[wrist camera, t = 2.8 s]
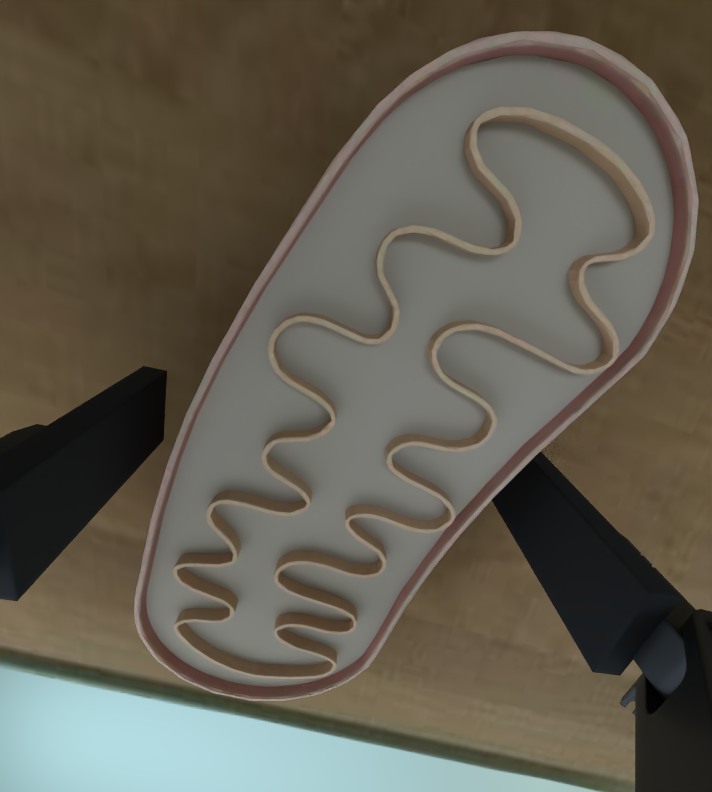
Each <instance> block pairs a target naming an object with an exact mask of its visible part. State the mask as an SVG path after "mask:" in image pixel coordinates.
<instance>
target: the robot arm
mask: <svg viewBox="0 0 712 792" xmlns="http://www.w3.org/2000/svg"><path fill="white" fill-rule="evenodd" d="M166 379H167V371H165V370H160V369H155V368H150V367H145V366H143V367H142V368H140V369H138V370H137V371H135V372H133V373H132V374H130V375H129V376H127V377H125V378H124V379H122V380H121V381H119V382H117V383H116V384H114V385H112V386H111V387H109V388H108V389H106V390H104V391H103V392H101V393H100V394H98V395H96V396H95V397H93V398H91V399H90V400H88V401H87V402H85V403H83V404H82V405H80V406H79V407H77V408H75V409H74V410H72V411H70V412H69V413H67V414H66V415H64V416H62V417H61V418H59V419H57V420H56V421H54V422H53V423H51V424H49V425H48V426H44V425H39V424H36V425H32V426H29V427H26V428H23V429H20V430H16V431H13V432H11V433H9V434H7V435H5V436H4V437H2V438H0V599H5V600H13V601H18V600H19V598H20V597H21V596H22V595H23V594H24V593H25V592H26V591H27V590H28V589H29V587H30V586H31V585H32V584H33V583H34V582H35V581H36V580H37V579H38V578H39V576H40V575H41V574H42V573H43V572H44V571H45V570H46V569H47V568H48V567H49V565H50V564H51V563H52V562H53V561H54V560H55V559H56V558H57V557H58V555H59V554H60V553H61V552H62V551H63V550H64V549H65V548H66V547H67V546H68V544H69V543H70V542H71V541H72V540H73V539H74V538H75V537H76V536H77V535H78V533H79V532H80V531H81V530H82V529H83V528H84V527H85V526H86V525H87V524H88V522H89V521H90V520H91V519H92V518H93V517H94V516H95V515H96V514H97V513H98V511H99V510H100V509H101V508H102V507H103V506H104V505H105V504H106V503H107V502H108V500H109V499H110V498H111V497H112V496H113V495H114V494H115V493H116V492H117V491H118V489H119V488H120V487H121V486H122V485H123V484H124V483H125V482H126V481H127V479H128V478H129V477H130V476H131V475H132V474H133V473H134V472H135V471H136V470H137V468H138V467H139V466H140V465H141V464H142V463H143V462H144V461H145V460H146V459H147V457H148V456H149V455H150V454H151V453H152V452H153V451H154V450H155V449H156V448H157V446H158V445H159V444H160V443H161V442H162V441H163V439H164V419H165V399H166ZM492 501H493V503H494V505H495V506H496V508H497V510H498V512H499V513H500V515H501V517H502V518H503V520H504V522H505V523H506V525H507V527H508V529H509V530H510V532H511V534H512V535H513V537H514V539H515V541H516V542H517V544H518V546H519V547H520V549H521V551H522V552H523V554H524V556H525V558H526V559H527V561H528V563H529V564H530V566H531V568H532V569H533V571H534V573H535V575H536V576H537V578H538V580H539V581H540V583H541V585H542V586H543V588H544V590H545V592H546V593H547V595H548V597H549V598H550V600H551V602H552V603H553V605H554V607H555V609H556V610H557V612H558V614H559V615H560V617H561V619H562V621H563V622H564V624H565V626H566V627H567V629H568V631H569V632H570V634H571V636H572V638H573V639H574V641H575V643H576V644H577V646H578V648H579V649H580V651H581V653H582V655H583V656H584V658H585V660H586V661H587V663H588V665H589V666H590V668H591V670H592V672H596V673H604V674H612V675H621V674H622V672H623V671H624V670H625V669H626V667H627V666H628V665H629V664H630V662H631V661H632V660H633V659H634V661H635V662H636V663H637V665H638V666H639V668H640V669H641V671H642V672H643V673H642V675H641V676H640V677H639V678H638V679H637V681H636V682H635V683H634V684H633V685H632V687H631V688H630V689H629V690H628V691H627V693H626V694H625V695H624V696H623V697H622V700H621V702H620V704H621V705H622V706H623V707H626V706H627V705H628V703H629V702H631V701H635V702H636V709H635V710H634V711H633V712H632V713H633V714H634V715H636V721H635V792H712V612H710V611H706V610H702V609H699V610H695V608H694V607H693V606H692V605H691V604H690V603H689V602H688V601H687V600H686V599H685V598H684V597H683V596H682V595H681V594H680V593H679V592H678V591H677V590H676V589H675V588H674V587H673V586H672V585H671V584H670V583H669V582H668V581H667V580H666V579H665V578H664V577H663V575H662V574H661V573H660V572H659V571H658V570H657V569H656V568H654V567H652V564H651V563H650V562H649V561H648V560H647V559H646V558H645V557H644V556H642V555H641V553H640V552H639V551H638V550H637V549H636V548H635V547H634V546H633V545H632V543H631V542H630V541H629V540H628V539H627V538H625V537H624V536H623V535H621V534H620V533H619V532H618V531H617V530H616V529H615V528H614V527H613V526H612V525H611V524H610V523H609V522H608V521H607V520H606V519H605V518H604V517H603V516H602V515H601V514H600V513H599V512H598V511H597V510H596V509H595V508H594V506H593V505H592V504H591V503H590V502H589V501H588V500H587V499H586V498H585V497H584V496H583V495H582V494H581V493H580V492H579V491H578V490H577V489H576V488H575V487H574V486H573V485H572V484H571V483H570V482H569V480H568V479H567V478H566V477H565V476H564V475H563V474H562V473H561V472H560V471H559V470H558V469H557V468H556V467H555V466H554V465H553V464H552V463H551V462H550V461H549V460H548V459H547V458H546V457H545V455H544V454H543V453H542V452H541V451H540V452H539V453H538V454H537V455H536V456H535V457H534V458H533V459H532V460H531V461H530V462H529V463H528V464H527V465H526V466H525V467H524V468H523V469H522V470H521V471H520V472H519V473H518V474H517V475H516V476H515V477H514V478H513V479H512V480H511V481H510V482H509V483H508V484H507V485H506V486H505V487H504V488H503V489H502V490H501V491H500V492H499V493H498V494H497V495H496V496H495V497H494V498H493V499H492Z"/></svg>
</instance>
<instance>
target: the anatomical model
mask: <svg viewBox="0 0 712 792" xmlns="http://www.w3.org/2000/svg"><path fill="white" fill-rule="evenodd" d="M698 204H699V199H698V192H697V185H696V179H695V173H694V168H693V162H692V157H691V151H690V147H689V143H688V139H687V136H686V134H685V132H684V130H683V127H682V125H681V123H680V121H679V119H678V117H677V116H676V114H675V113H674V111H673V110H672V108H671V107H670V105H669V104H668V102H667V101H666V99H665V98H664V96H663V95H662V93H661V92H660V91H659V89H658V88H657V86H656V85H655V83H654V82H653V81H652V79H650V78H649V77H648V76H647V75H646V74H644V73H643V72H642V71H641V70H639V69H638V68H637V67H636V66H634V65H633V64H632V63H631V62H630V61H628V60H627V59H626V58H625V57H623V56H622V55H620V54H618V53H616V52H614V51H612V50H610V49H608V48H606V47H604V46H602V45H600V44H598V43H596V42H594V41H592V40H590V39H588V38H585V37H580V36H575V35H570V34H565V33H560V32H555V31H517V32H511V33H506V34H500V35H494V36H489V37H483V38H479V39H476V40H474V41H472V42H469V43H467V44H464V45H462V46H460V47H457V48H455V49H452V50H450V51H448V52H447V53H445V54H443V55H442V56H440V57H439V58H437V59H435V60H434V61H432V62H430V63H429V64H427V65H425V66H424V67H422V68H420V69H419V70H417V71H416V72H414V73H412V74H411V75H410V76H409V77H407V78H406V79H405V80H404V81H403V82H402V83H401V84H400V85H399V86H397V87H396V88H395V89H394V90H393V91H392V92H391V93H390V94H389V95H387V96H386V97H385V98H384V99H383V100H382V101H381V102H380V103H379V104H378V105H377V106H376V107H375V108H374V110H373V111H372V112H371V113H370V114H369V116H368V117H367V118H366V119H365V121H364V122H363V123H362V124H361V125H360V127H359V128H358V129H357V130H356V132H355V133H354V134H353V135H352V137H351V138H350V139H349V140H348V141H347V143H346V144H345V145H344V146H343V148H342V149H341V150H340V151H339V153H338V154H337V155H336V156H335V157H334V159H333V160H332V162H331V163H330V165H329V167H328V168H327V170H326V171H325V173H324V174H323V176H322V178H321V179H320V181H319V182H318V184H317V185H316V187H315V189H314V190H313V192H312V193H311V195H310V197H309V198H308V200H307V201H306V203H305V204H304V206H303V208H302V209H301V211H300V212H299V214H298V215H297V217H296V219H295V220H294V222H293V223H292V225H291V226H290V228H289V230H288V231H287V233H286V234H285V236H284V237H283V239H282V241H281V242H280V244H279V245H278V247H277V248H276V250H275V252H274V253H273V255H272V256H271V258H270V260H269V261H268V263H267V264H266V266H265V267H264V269H263V271H262V272H261V274H260V275H259V277H258V279H257V280H256V282H255V284H254V285H253V287H252V289H251V291H250V293H249V294H248V296H247V298H246V300H245V301H244V303H243V305H242V307H241V309H240V310H239V312H238V314H237V316H236V317H235V319H234V321H233V323H232V325H231V326H230V328H229V330H228V332H227V334H226V335H225V337H224V339H223V341H222V342H221V344H220V346H219V348H218V350H217V351H216V353H215V355H214V357H213V359H212V361H211V363H210V365H209V367H208V369H207V371H206V373H205V375H204V378H203V380H202V382H201V384H200V386H199V388H198V390H197V392H196V394H195V397H194V399H193V401H192V403H191V405H190V407H189V409H188V411H187V413H186V416H185V419H184V421H183V424H182V426H181V429H180V432H179V434H178V437H177V440H176V442H175V445H174V447H173V450H172V453H171V455H170V458H169V461H168V463H167V467H166V470H165V473H164V477H163V480H162V484H161V487H160V490H159V494H158V497H157V501H156V504H155V507H154V511H153V514H152V518H151V521H150V526H149V531H148V536H147V540H146V545H145V550H144V555H143V560H142V564H141V569H140V574H139V579H138V584H137V589H136V593H135V602H134V618H135V622H136V626H137V630H138V634H139V636H140V637H141V639H142V641H143V642H144V644H145V646H146V647H147V649H148V650H149V651H150V653H151V654H152V655H153V656H154V658H155V659H156V660H157V661H158V662H159V663H161V664H162V665H163V666H165V667H166V668H167V669H169V670H170V671H171V672H173V673H174V674H175V675H177V676H178V677H179V678H181V679H182V680H184V681H187V682H189V683H191V684H194V685H196V686H198V687H201V688H203V689H205V690H208V691H210V692H212V693H216V694H221V695H226V696H231V697H236V698H241V699H246V700H251V701H287V700H292V699H298V698H303V697H308V696H314V695H318V694H321V693H323V692H326V691H328V690H331V689H333V688H335V687H338V686H340V685H343V684H345V683H347V682H349V681H350V680H351V679H353V678H354V677H356V676H357V675H358V674H360V673H361V672H362V671H364V670H365V669H367V668H368V667H369V665H370V664H371V663H372V661H373V660H374V659H375V657H376V656H377V654H378V652H379V651H380V649H381V647H382V646H383V644H384V642H385V641H386V639H387V638H388V636H389V634H390V633H391V631H392V629H393V628H394V626H395V624H396V623H397V621H398V619H399V618H400V616H401V615H402V613H403V611H404V610H405V608H406V606H407V605H408V603H409V602H410V600H411V599H412V598H413V596H414V595H415V593H416V592H417V591H418V589H419V588H420V586H421V585H422V583H423V582H424V581H425V579H426V578H427V576H428V575H429V573H430V572H431V571H432V569H433V568H434V567H435V566H436V564H437V563H438V562H439V561H440V559H441V558H442V557H443V556H444V554H445V553H446V552H447V551H448V549H449V548H450V547H451V546H452V544H453V543H454V542H455V540H456V539H457V538H458V537H459V535H460V534H461V533H462V532H463V531H464V530H465V529H466V528H467V527H468V525H469V524H470V523H471V522H472V521H473V520H474V519H475V518H476V517H477V516H478V514H479V513H480V512H481V511H482V510H483V509H484V508H485V507H486V506H487V504H488V503H489V502H490V501H491V500H492V499H493V498H494V497H495V496H496V495H497V494H498V493H499V492H500V491H501V490H502V489H503V488H504V487H505V486H506V485H507V484H508V483H509V482H510V481H511V480H512V479H513V478H514V477H515V476H516V475H517V474H518V473H519V472H520V471H521V470H522V469H523V468H524V467H525V466H526V465H527V464H528V463H529V462H530V461H531V460H532V459H533V458H534V457H535V456H536V455H537V454H538V453H539V452H540V451H541V450H542V449H543V448H545V447H546V446H547V445H548V444H549V443H550V442H551V441H552V440H553V439H554V438H556V437H557V436H558V435H559V434H560V433H561V432H562V431H563V430H564V429H565V428H566V427H568V426H569V425H570V424H571V423H572V422H573V421H574V420H575V419H576V418H577V417H579V416H580V415H581V414H582V413H583V412H584V411H585V410H586V409H587V408H588V407H590V406H591V405H592V404H593V403H594V402H595V401H596V400H597V399H598V398H599V397H600V396H602V395H603V394H604V393H605V392H606V391H607V390H608V389H609V388H610V387H611V386H613V385H614V384H615V383H616V382H617V381H618V380H619V379H620V378H621V377H622V376H623V375H625V374H626V373H627V372H628V371H629V370H630V369H631V368H632V367H633V366H634V365H635V364H636V363H637V362H638V361H639V360H641V359H642V358H643V357H644V356H645V355H646V353H647V352H648V350H649V349H650V347H651V345H652V344H653V342H654V340H655V339H656V337H657V336H658V334H659V332H660V331H661V329H662V327H663V326H664V324H665V323H666V321H667V319H668V318H669V316H670V314H671V313H672V311H673V309H674V307H675V305H676V303H677V300H678V298H679V295H680V292H681V289H682V287H683V284H684V281H685V279H686V275H687V272H688V269H689V266H690V263H691V259H692V256H693V253H694V248H695V237H696V226H697V215H698Z"/></svg>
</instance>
